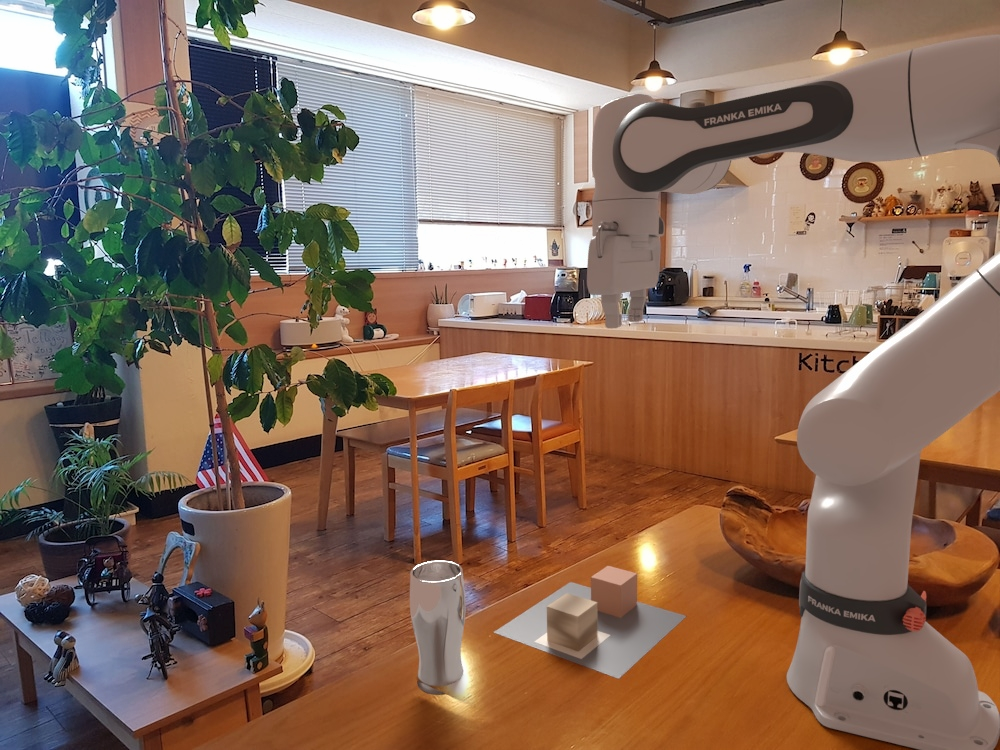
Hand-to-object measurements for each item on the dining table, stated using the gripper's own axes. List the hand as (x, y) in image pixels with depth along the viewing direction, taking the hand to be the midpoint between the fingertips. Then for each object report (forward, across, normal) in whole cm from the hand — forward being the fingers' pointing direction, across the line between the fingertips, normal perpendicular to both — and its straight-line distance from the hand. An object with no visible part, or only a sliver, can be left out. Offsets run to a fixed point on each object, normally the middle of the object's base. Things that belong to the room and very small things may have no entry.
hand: (624, 324), depth 104 cm
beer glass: (+44, -26, +16) cm, 53 cm away
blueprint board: (+44, -6, +3) cm, 44 cm away
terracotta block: (+42, +1, +2) cm, 43 cm away
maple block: (+42, -11, +4) cm, 44 cm away
